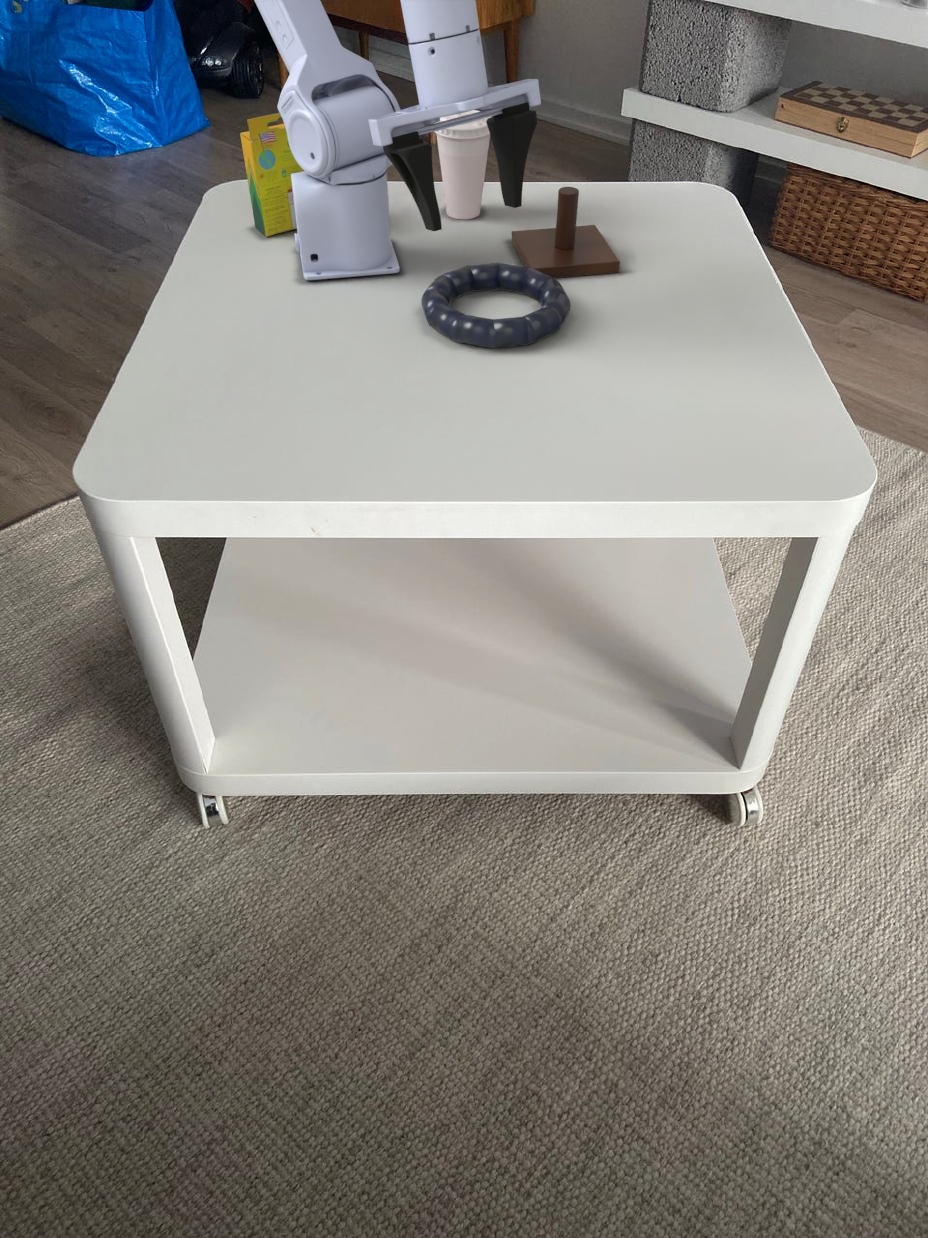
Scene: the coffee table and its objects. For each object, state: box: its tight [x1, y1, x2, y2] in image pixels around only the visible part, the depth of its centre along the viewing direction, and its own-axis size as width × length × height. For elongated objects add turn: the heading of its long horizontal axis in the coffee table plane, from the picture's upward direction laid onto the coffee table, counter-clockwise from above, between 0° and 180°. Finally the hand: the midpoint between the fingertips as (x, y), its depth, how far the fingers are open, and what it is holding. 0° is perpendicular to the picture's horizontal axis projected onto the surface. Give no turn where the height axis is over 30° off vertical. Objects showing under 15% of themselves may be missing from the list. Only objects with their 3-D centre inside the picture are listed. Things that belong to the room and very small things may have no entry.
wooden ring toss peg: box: [510, 186, 621, 279], centre depth 97 cm, size 9×9×7 cm
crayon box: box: [239, 112, 304, 238], centre depth 101 cm, size 7×3×12 cm, turn 123°
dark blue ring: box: [420, 262, 572, 349], centre depth 90 cm, size 13×13×2 cm
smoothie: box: [433, 110, 493, 220], centre depth 103 cm, size 6×6×14 cm
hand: (473, 217), depth 84 cm, fingers open, 7 cm apart
